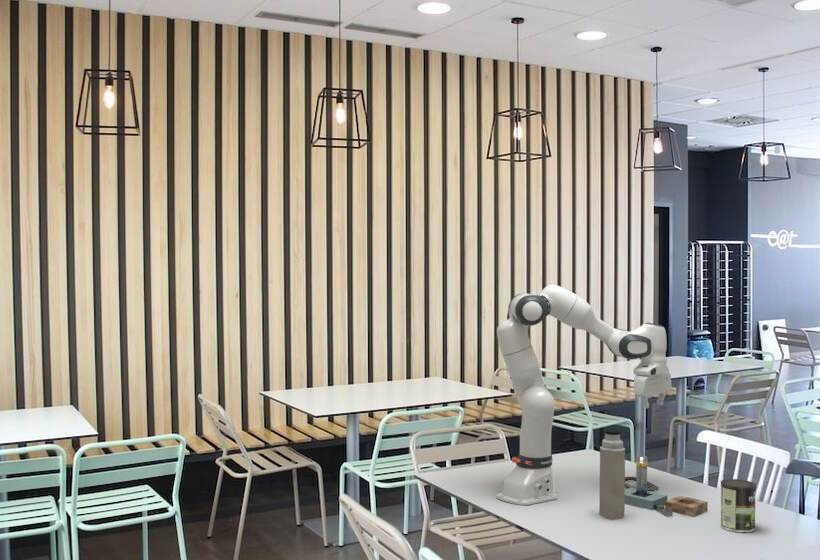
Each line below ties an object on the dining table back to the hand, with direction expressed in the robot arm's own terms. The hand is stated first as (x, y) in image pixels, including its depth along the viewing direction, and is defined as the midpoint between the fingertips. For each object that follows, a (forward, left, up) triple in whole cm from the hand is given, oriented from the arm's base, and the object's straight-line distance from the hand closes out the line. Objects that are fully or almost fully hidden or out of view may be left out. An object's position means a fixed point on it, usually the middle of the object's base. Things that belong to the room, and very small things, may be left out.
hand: (653, 406), depth 305 cm
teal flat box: (-14, -4, -31) cm, 34 cm away
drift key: (-19, -15, -31) cm, 39 cm away
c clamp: (+3, +10, -32) cm, 33 cm away
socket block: (-11, -19, -31) cm, 38 cm away
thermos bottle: (-34, -5, -31) cm, 46 cm away
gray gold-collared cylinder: (-14, -4, -31) cm, 34 cm away
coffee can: (-16, -39, -31) cm, 53 cm away
